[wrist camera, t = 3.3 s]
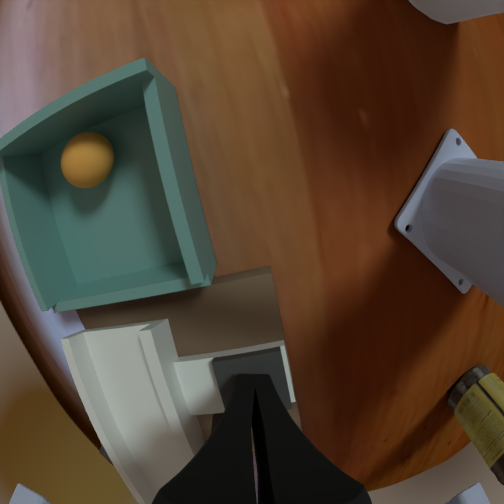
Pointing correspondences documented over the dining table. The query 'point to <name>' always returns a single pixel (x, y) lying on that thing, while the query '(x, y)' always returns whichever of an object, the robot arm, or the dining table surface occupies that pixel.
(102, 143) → the ball
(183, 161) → the teal open box
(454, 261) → the robot arm
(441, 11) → the foam cup
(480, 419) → the sauce bottle
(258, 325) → the stand
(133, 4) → the dining table surface
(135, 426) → the tray
